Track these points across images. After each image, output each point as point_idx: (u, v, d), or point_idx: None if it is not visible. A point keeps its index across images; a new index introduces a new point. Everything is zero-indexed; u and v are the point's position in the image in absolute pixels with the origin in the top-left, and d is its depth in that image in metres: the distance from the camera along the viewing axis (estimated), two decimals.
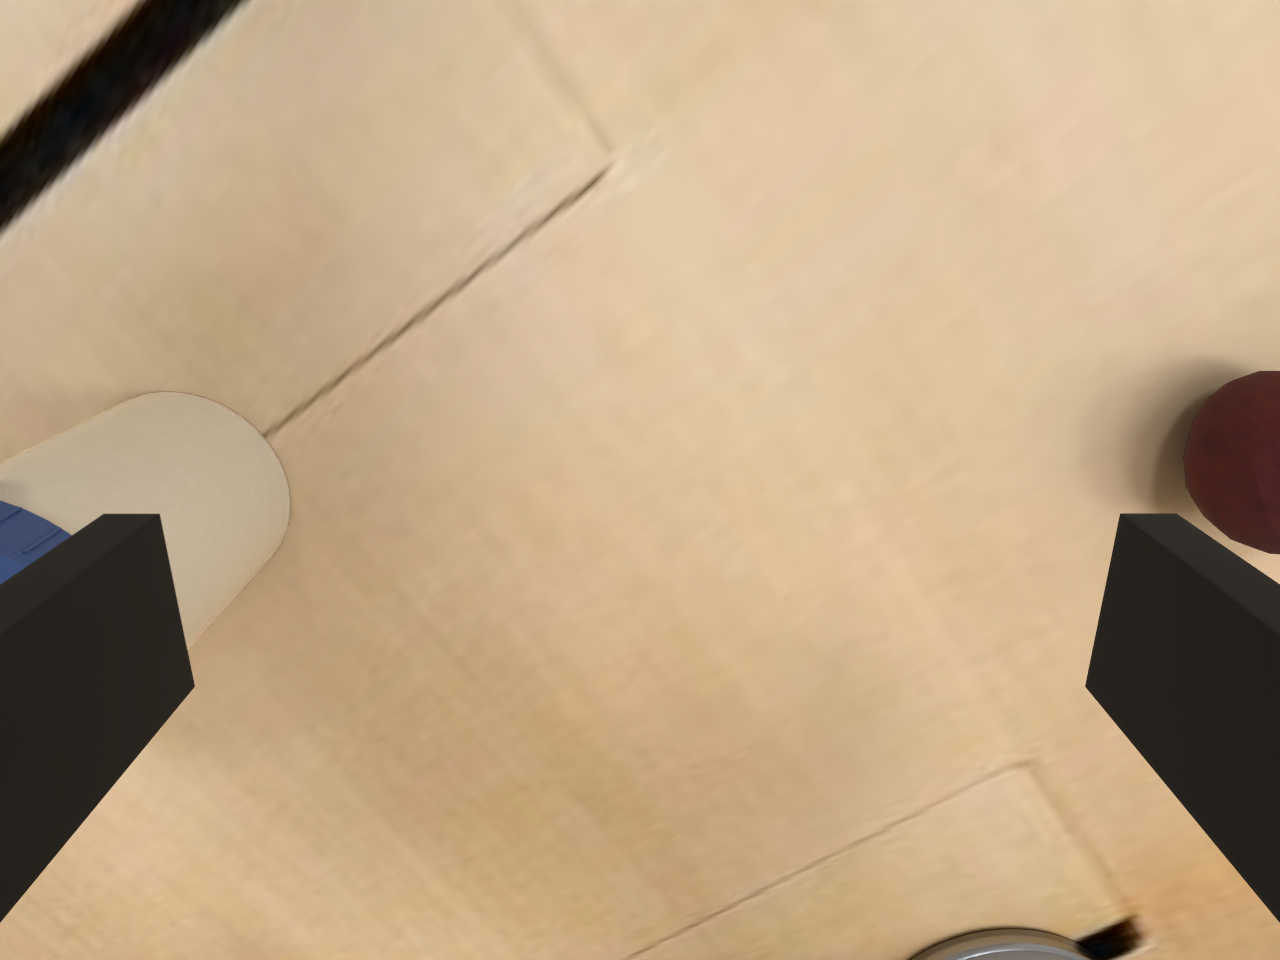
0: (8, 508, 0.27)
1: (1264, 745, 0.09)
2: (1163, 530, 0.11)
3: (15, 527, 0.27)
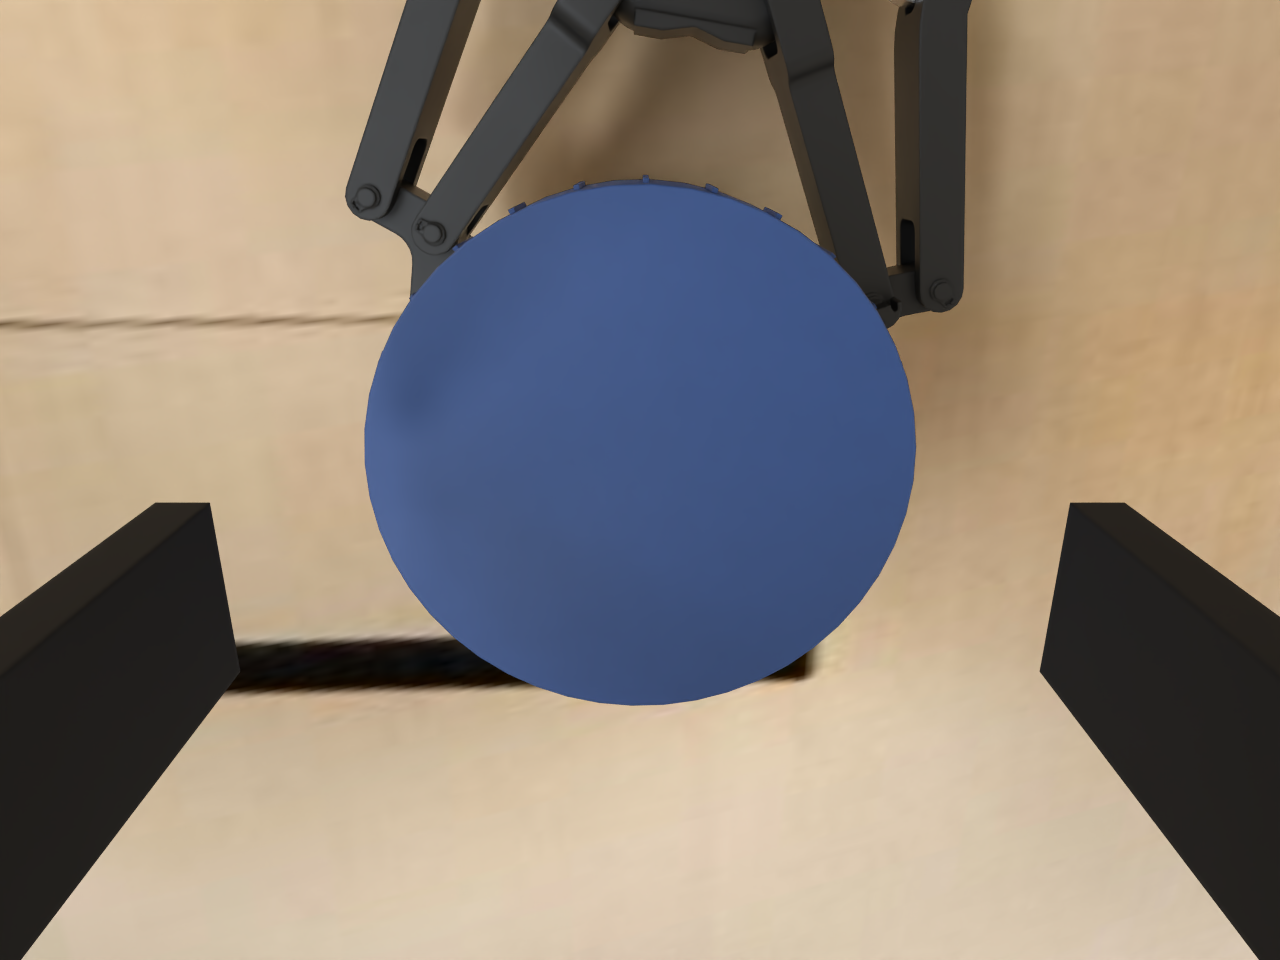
0: None
1: (1194, 722, 0.10)
2: (1110, 518, 0.12)
3: None
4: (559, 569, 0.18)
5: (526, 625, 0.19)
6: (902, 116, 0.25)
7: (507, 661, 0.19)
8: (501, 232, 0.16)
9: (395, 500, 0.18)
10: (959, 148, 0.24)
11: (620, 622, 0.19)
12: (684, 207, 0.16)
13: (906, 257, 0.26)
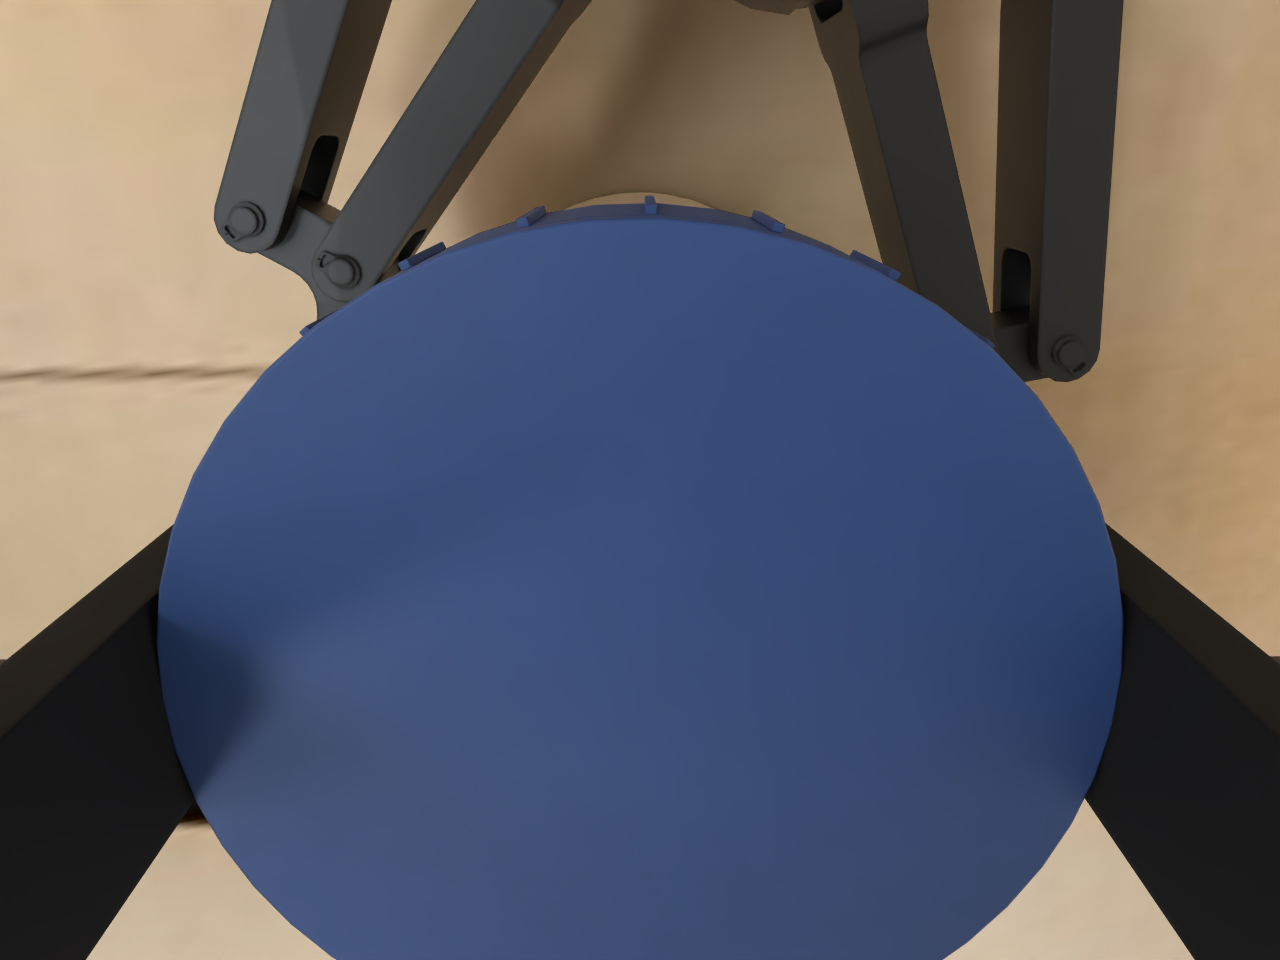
0: None
1: (1117, 699, 0.10)
2: None
3: None
4: (504, 859, 0.11)
5: (451, 940, 0.11)
6: (1013, 104, 0.17)
7: None
8: (380, 307, 0.08)
9: (219, 755, 0.10)
10: (1104, 149, 0.16)
11: (607, 935, 0.11)
12: (723, 261, 0.08)
13: (1008, 300, 0.19)
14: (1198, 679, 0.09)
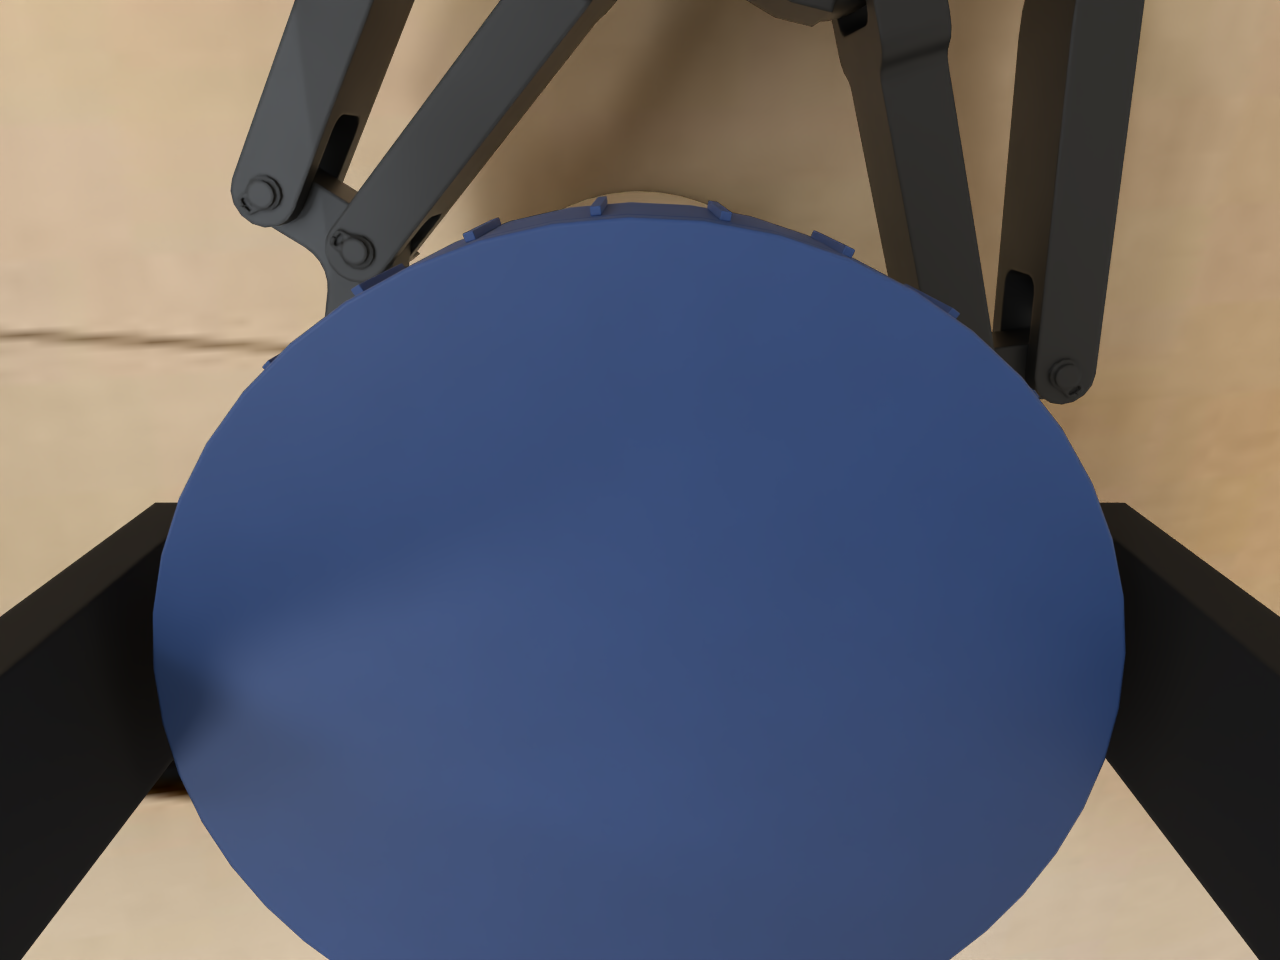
0: None
1: (1194, 722, 0.10)
2: (1109, 518, 0.12)
3: None
4: (803, 843, 0.11)
5: (900, 897, 0.11)
6: (1025, 129, 0.18)
7: (962, 929, 0.11)
8: (245, 864, 0.11)
9: None
10: (1112, 179, 0.17)
11: (923, 765, 0.10)
12: (182, 624, 0.10)
13: (1009, 321, 0.19)
14: None
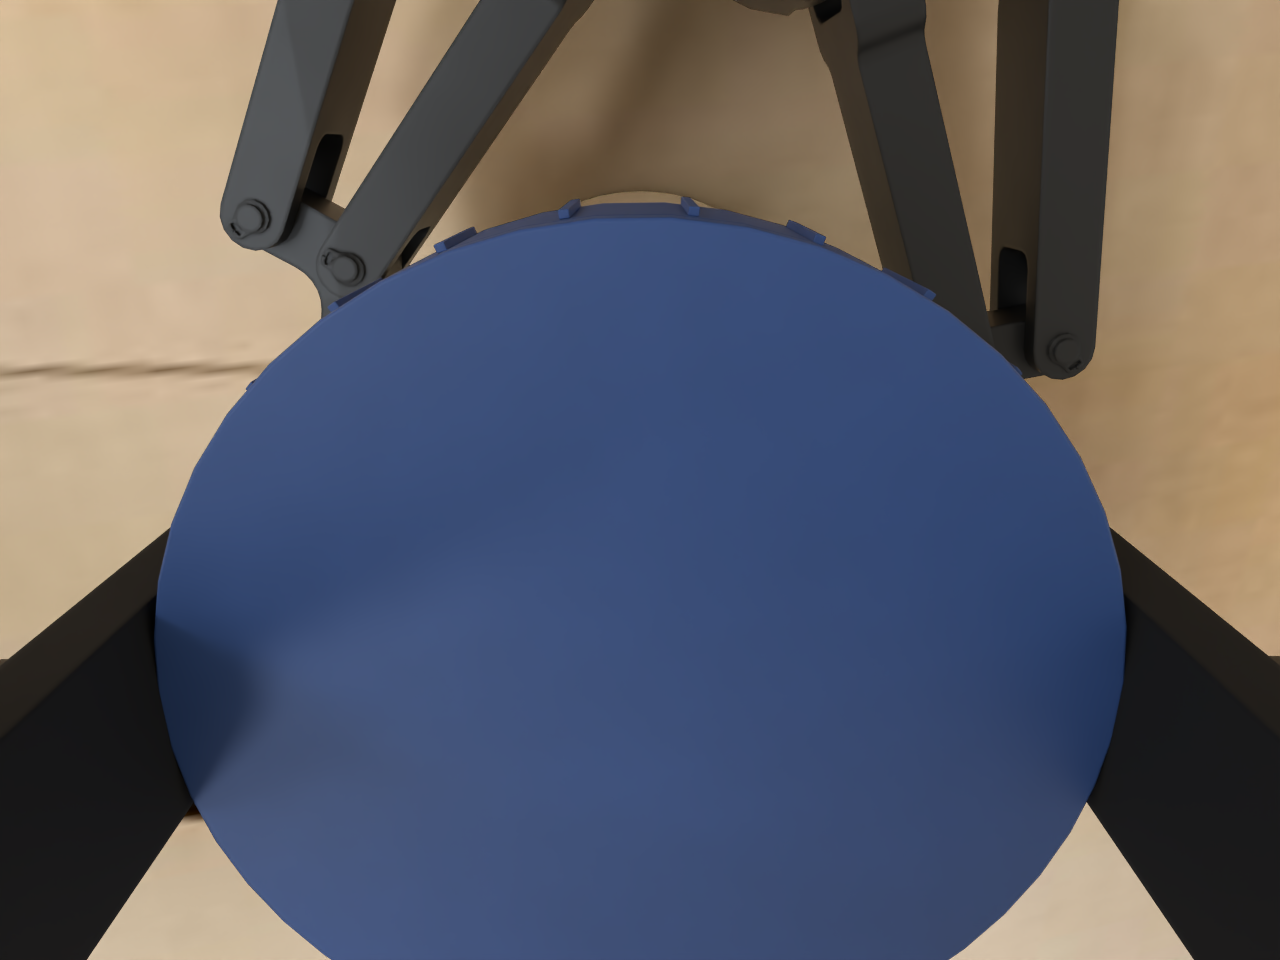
0: None
1: None
2: None
3: None
4: (813, 834, 0.11)
5: (914, 884, 0.11)
6: (1010, 105, 0.18)
7: (980, 913, 0.11)
8: (261, 881, 0.11)
9: None
10: (1100, 149, 0.16)
11: (929, 750, 0.10)
12: (183, 647, 0.10)
13: (1005, 298, 0.19)
14: (1197, 679, 0.09)
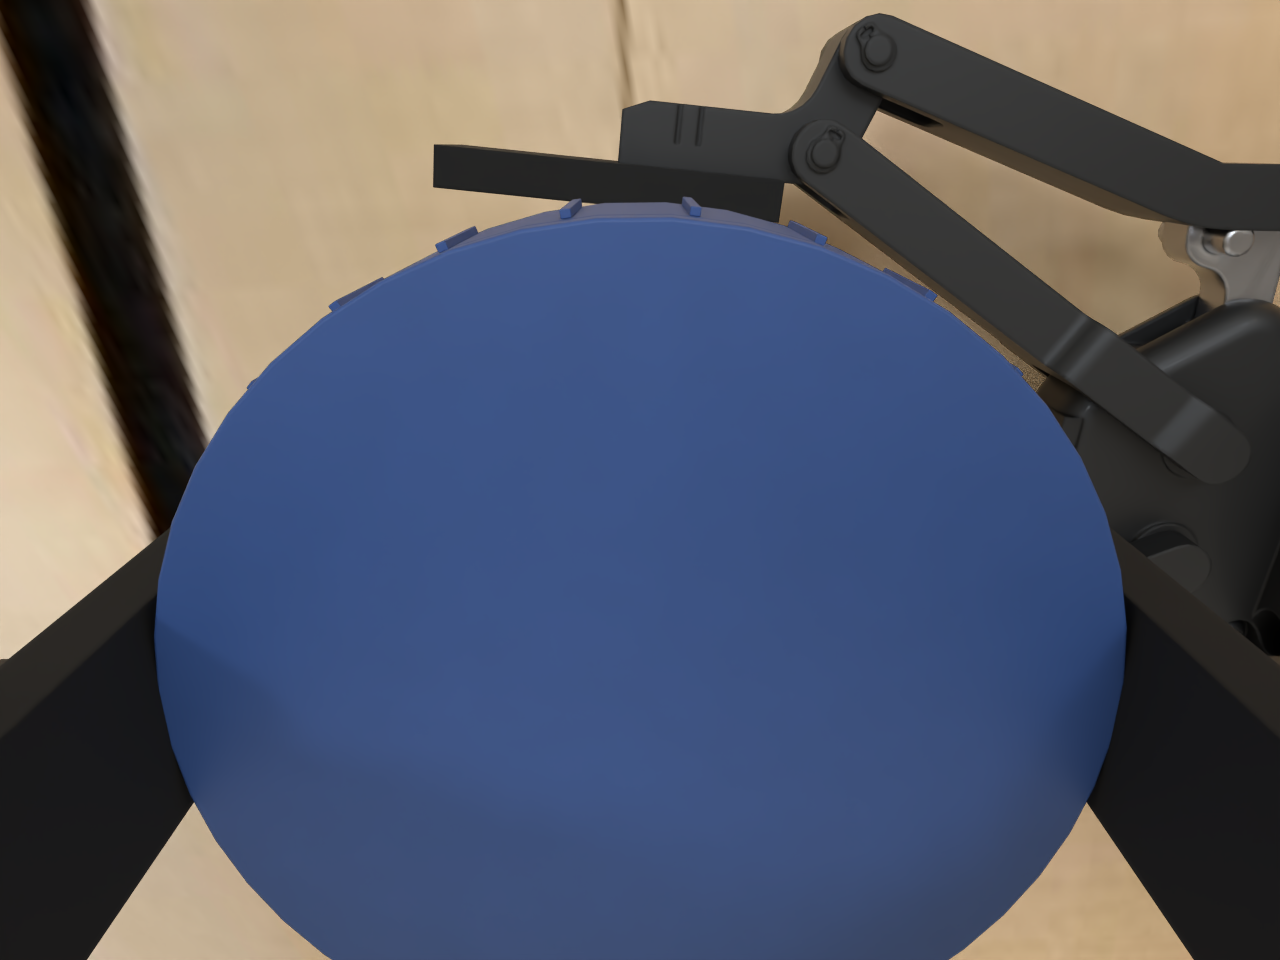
0: None
1: None
2: None
3: None
4: (813, 834, 0.11)
5: (914, 884, 0.11)
6: None
7: (980, 913, 0.11)
8: (260, 880, 0.11)
9: None
10: None
11: (929, 750, 0.10)
12: (184, 646, 0.10)
13: None
14: (1196, 678, 0.09)
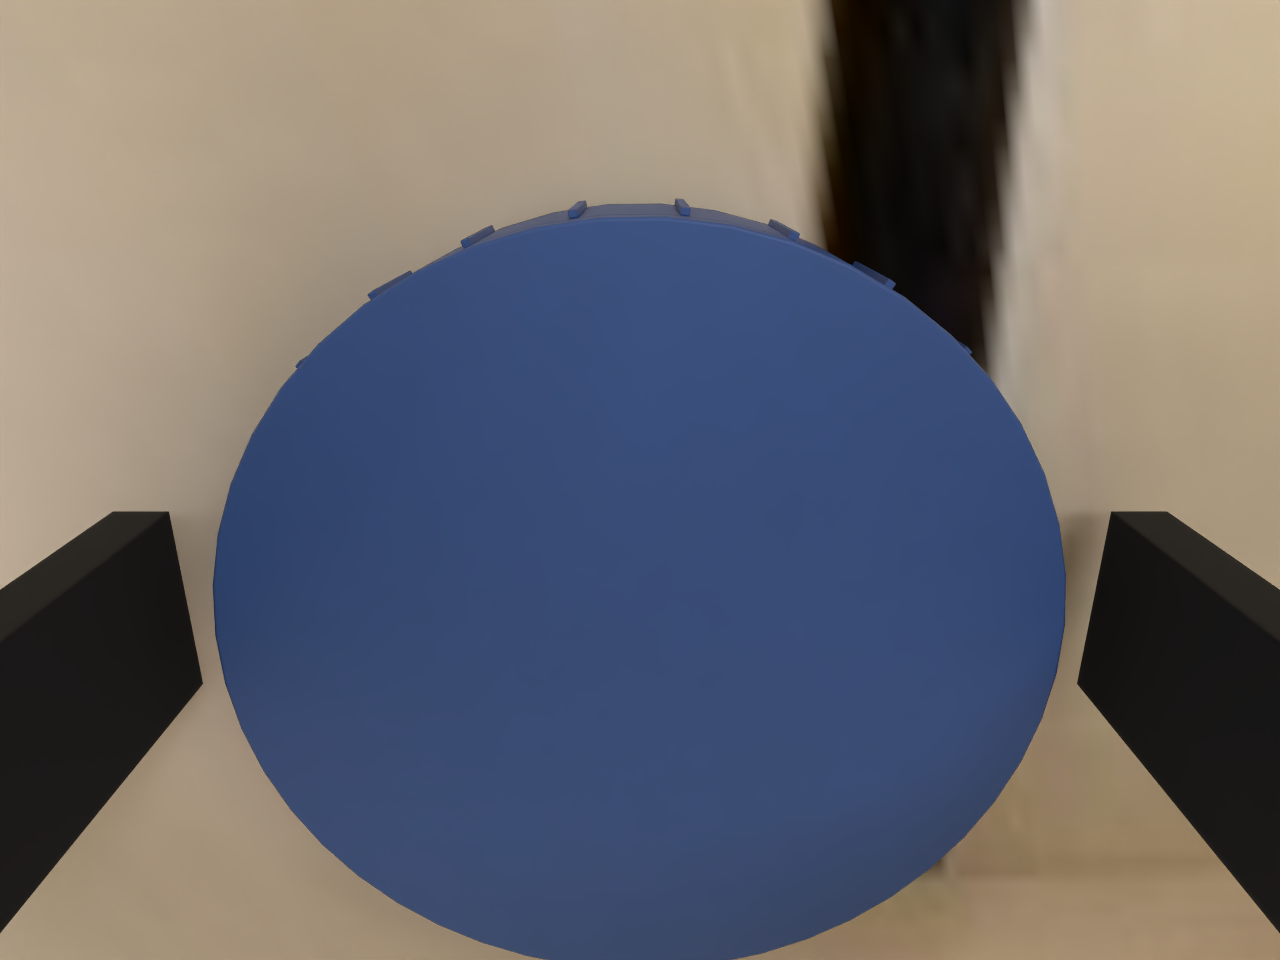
0: None
1: (1251, 740, 0.09)
2: (1153, 528, 0.12)
3: None
4: (793, 763, 0.12)
5: (884, 809, 0.12)
6: None
7: (942, 836, 0.12)
8: (302, 807, 0.12)
9: (673, 943, 0.13)
10: None
11: (895, 687, 0.12)
12: (239, 594, 0.11)
13: None
14: None
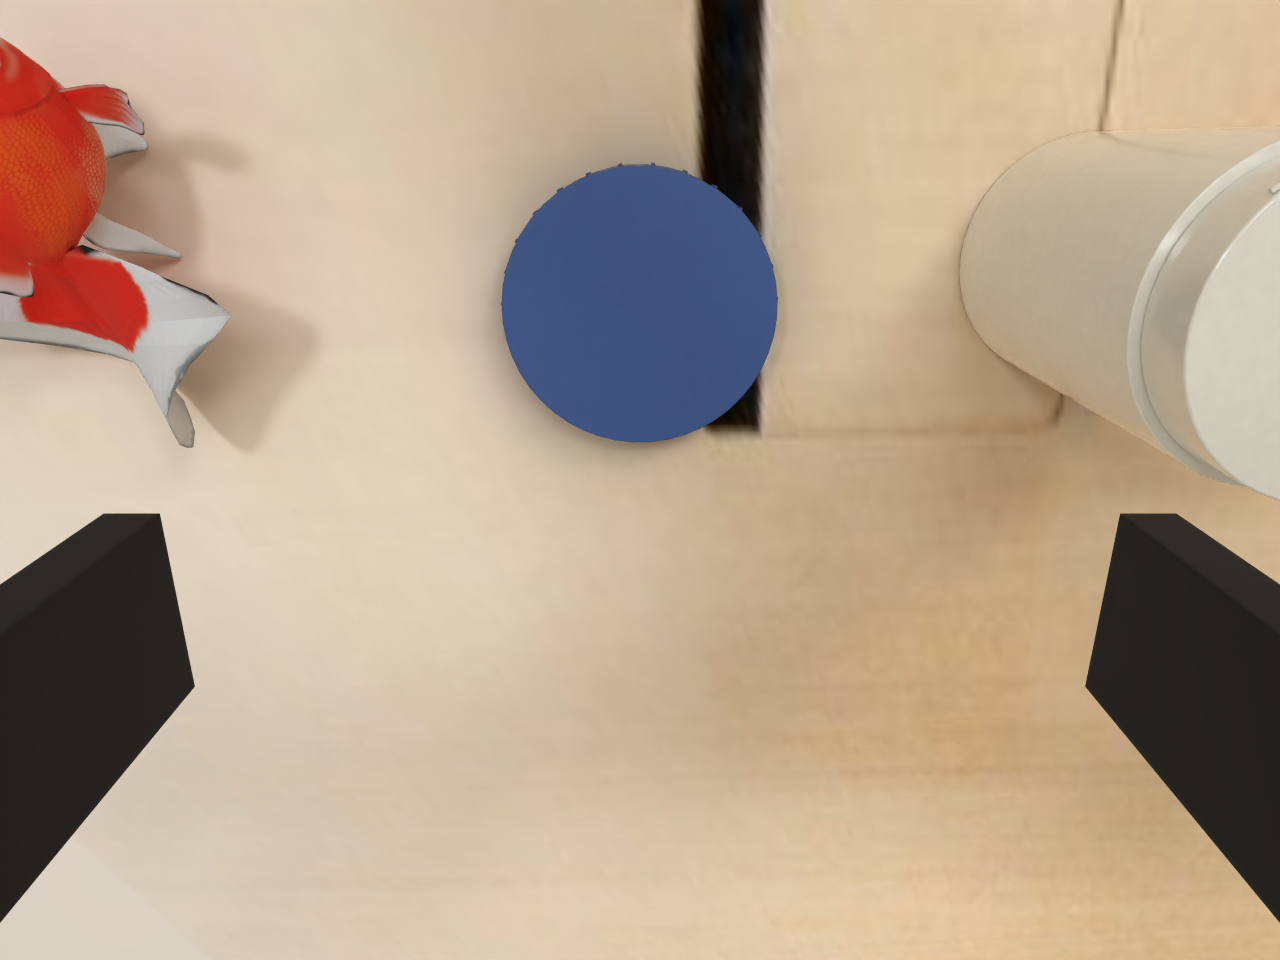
0: None
1: (1264, 745, 0.09)
2: (1163, 530, 0.11)
3: None
4: (691, 353, 0.35)
5: (723, 372, 0.36)
6: None
7: (744, 383, 0.36)
8: (524, 371, 0.36)
9: (651, 430, 0.36)
10: None
11: (723, 323, 0.35)
12: (511, 288, 0.34)
13: None
14: None
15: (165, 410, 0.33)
